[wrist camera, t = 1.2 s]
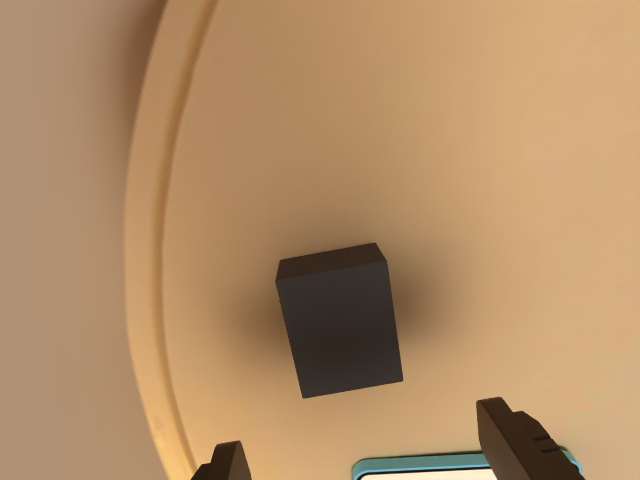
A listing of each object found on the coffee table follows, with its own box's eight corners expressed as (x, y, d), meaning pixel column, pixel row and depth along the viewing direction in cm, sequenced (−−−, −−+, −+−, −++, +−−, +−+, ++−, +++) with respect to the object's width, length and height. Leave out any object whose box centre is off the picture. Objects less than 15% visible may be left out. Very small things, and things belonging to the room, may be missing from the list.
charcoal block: (279, 260, 21) (274, 280, 18) (375, 242, 20) (387, 260, 18) (303, 365, 22) (302, 399, 20) (391, 350, 22) (403, 381, 19)
